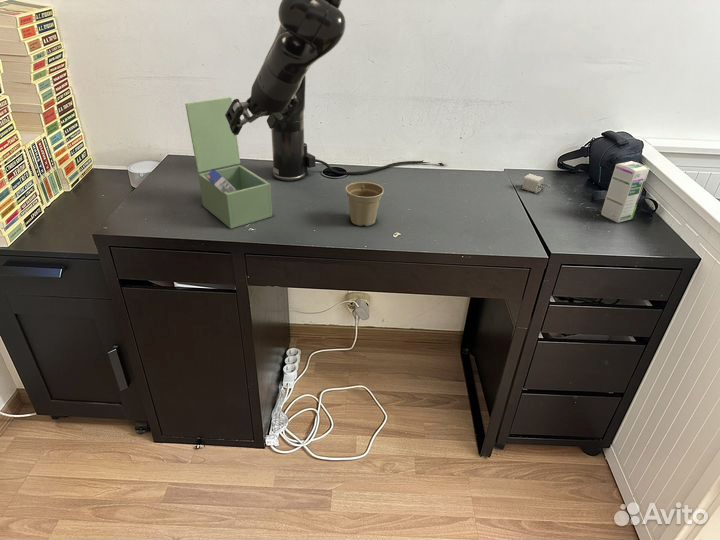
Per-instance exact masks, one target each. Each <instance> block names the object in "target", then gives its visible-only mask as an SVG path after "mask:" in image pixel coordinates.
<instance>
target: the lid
mask: <svg viewBox="0 0 720 540" xmlns="http://www.w3.org/2000/svg"><path fill="white" fill-rule="evenodd" d="M232 98H233V97H223V98H215V99H208V100H200V101H192V102H187V103H186V102H185V103H184V105H185V110H186V116H187V121H188V128H189V133H190V138H191V145H192V149H193V156H194V161H195V166H196V171H197V173H203V172H208V171H212V170H213V169H214V170H217V169H222V168H227V167H231V166H236V165H240V164H241V157H240V151H239V143H238V135H234V134H233V133H232V131H231V129H230V125H229V123H228V121H227V118H226V116H225V114H226V113H227V111H228V109H229V107H230V105H231V103H232V102H233V99H232Z"/></svg>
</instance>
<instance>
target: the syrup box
mask: <svg viewBox="0 0 720 540" xmlns="http://www.w3.org/2000/svg"><path fill="white" fill-rule="evenodd" d="M650 169H651V168H650V167H649V166H647V165H644V164H642V163H639V162H636V161H632V160H630V161H626V162H620V163H616V164H615V167H614V169H613V173H612V176H611V180H610V183H609V186H608V189H607V192H606V195H605V198H604V202H603V206H602V208H601V212H600V215H601V216H603V217H604V218H606V219H608V220H611V221H613V222H614V223H617V224H620V223H622V222H626V221H630V220H631V221H632V220H633V218H634V216H635V213H636V210H637V206H638V204H639V201H640V197H641V195H642V192H643V189H644V186H645V183H646V180H647V177H648V175H649V172H650Z"/></svg>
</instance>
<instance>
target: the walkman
mask: <svg viewBox="0 0 720 540" xmlns="http://www.w3.org/2000/svg"><path fill="white" fill-rule="evenodd" d="M216 170H217V169H212V170H210V171H211V172H210V173H209V174H208V175H207V176H206V177H207V178H208V179H209V180H210V181H211V182H212V183H213V184H214V185H215V186H216V187H217V188H218V189H219V190H220V191H221V192H222V193H223V191H226V192H228V193H230V192H234V191H237V190H236V189H235V188H234V187H233V186H232V185H231V184H230V183H229V182H228V181H226V180H225V179H224V178H223V177H222V176H221V175H220V174H219V173H218V172H217V171H216Z"/></svg>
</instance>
